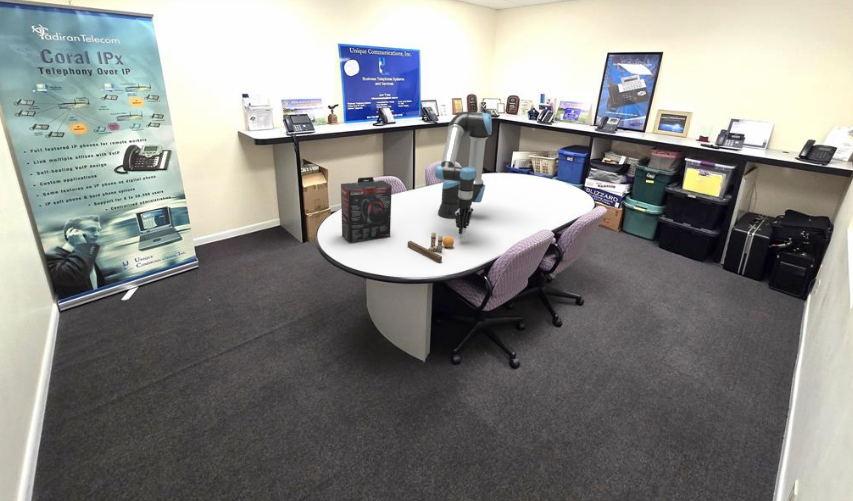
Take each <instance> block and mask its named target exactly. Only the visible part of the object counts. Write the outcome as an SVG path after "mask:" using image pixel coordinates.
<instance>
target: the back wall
mask: <svg viewBox="0 0 853 501" xmlns="http://www.w3.org/2000/svg"><path fill="white" fill-rule="evenodd" d="M407 248H409V249H411V250H412V251H414V252H416V253H419V254H421V255H423V256H424V257H427V258H428V259H429V260H430V259H431V261H434V262H436V263H438V264H439V263H440V264H441V263H442V262H443V256H442V255H440V254H439V253H437V252H435V251H434V252H432V251H430V250H428V249H429V248H426V247H424V246H422V245H420V244H418V243H416V242H415V241H412V240H408V241H407Z"/></svg>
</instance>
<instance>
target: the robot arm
mask: <svg viewBox="0 0 853 501" xmlns="http://www.w3.org/2000/svg"><path fill="white" fill-rule="evenodd" d="M492 119H493V118H492V114H490V113H486V112H478V111H477V112H475V111H474V112H473V111H462V112H459V113H457V114H456V115H455V116H453V118H452V119H451V120H450V121H449V123H448V125H447V138H446V143H445V146H444V150H443V153H442V160H441V164H438V165H436V167H435V170H434V177H435V179H437V180H442V181H443V182H442V188H441V201H440V205H439V208H438V210H437V216H439V217H441V218H445V219H455V226H456V228H458V239H459V240H461V241H464V240H465V233H466V229H468V227H469V226H470V221H471V218H472V214H473V212H474V208H472V207H471V206H472V204H473V203H479V204H480V203H481V202H482V201H483V196H484V194H485V189H486V184H484V180H483V178H482V176H483V168H484V158H485V147H486V141H487V139H489V136H490V135H492V132H493V131H492V128H493V126H492V124H493V122H492ZM464 133H468V137H469V138H470V148H469V157H468V158H469V160H468V166H467V167H461V166H460V167H459V166H456V161H457V156H458V152H459V147H460V143H461V138H462V136H463V135H464Z"/></svg>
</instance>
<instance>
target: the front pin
mask: <svg viewBox="0 0 853 501" xmlns="http://www.w3.org/2000/svg"><path fill="white" fill-rule="evenodd" d="M437 246H438V244H437V245H435V246H434V247H431V246H430V247H429V248H427V249H428V250H430V251H432V252H434V253H435V252H437ZM443 248H444V245H443V244H442V249H443Z"/></svg>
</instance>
